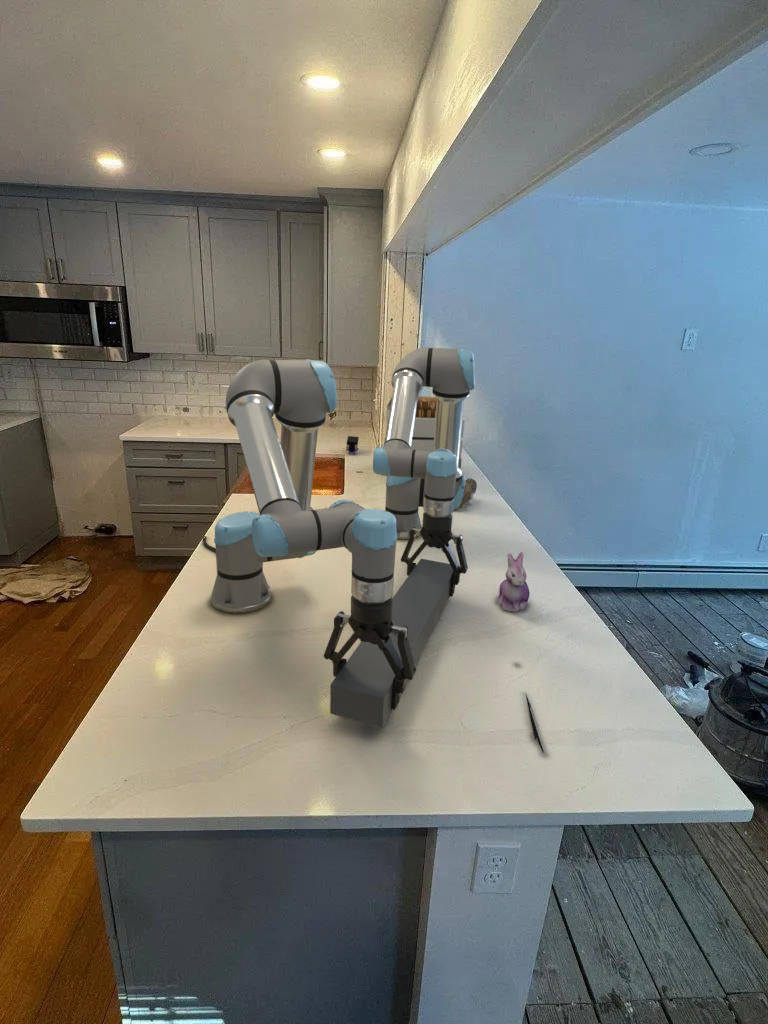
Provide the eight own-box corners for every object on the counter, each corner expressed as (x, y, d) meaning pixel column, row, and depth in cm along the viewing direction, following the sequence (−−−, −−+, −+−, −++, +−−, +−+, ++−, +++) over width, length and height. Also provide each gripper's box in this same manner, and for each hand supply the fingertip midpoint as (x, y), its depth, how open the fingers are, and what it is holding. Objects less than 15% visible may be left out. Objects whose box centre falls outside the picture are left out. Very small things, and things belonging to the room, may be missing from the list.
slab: (419, 579, 159) (420, 558, 157) (455, 586, 156) (457, 565, 154) (330, 713, 105) (330, 684, 103) (382, 728, 102) (383, 698, 100)
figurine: (511, 616, 149) (518, 564, 143) (487, 598, 157) (493, 549, 152) (539, 609, 153) (547, 558, 148) (514, 592, 161) (521, 544, 156)
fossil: (440, 484, 244) (470, 465, 239) (453, 501, 247) (482, 482, 242) (440, 506, 224) (472, 486, 219) (454, 524, 227) (486, 504, 222)
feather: (517, 669, 129) (522, 662, 128) (543, 757, 102) (550, 750, 102) (511, 665, 129) (516, 659, 128) (535, 752, 102) (542, 745, 101)
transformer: (382, 463, 289) (386, 382, 275) (445, 464, 293) (451, 384, 279) (390, 482, 257) (394, 392, 243) (460, 483, 261) (468, 394, 247)
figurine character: (358, 457, 303) (358, 448, 316) (358, 444, 299) (359, 435, 313) (345, 457, 302) (346, 447, 316) (345, 443, 299) (347, 434, 313)
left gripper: (304, 592, 101) (305, 694, 109) (428, 618, 95) (419, 726, 102) (322, 574, 108) (322, 672, 116) (439, 598, 101) (430, 700, 109)
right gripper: (390, 510, 144) (386, 588, 152) (479, 525, 137) (471, 605, 145) (399, 502, 151) (395, 576, 159) (485, 515, 144) (476, 592, 152)
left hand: (367, 697), depth 109 cm, fingers closed on slab, 10 cm apart
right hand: (431, 590), depth 152 cm, fingers closed on slab, 10 cm apart
